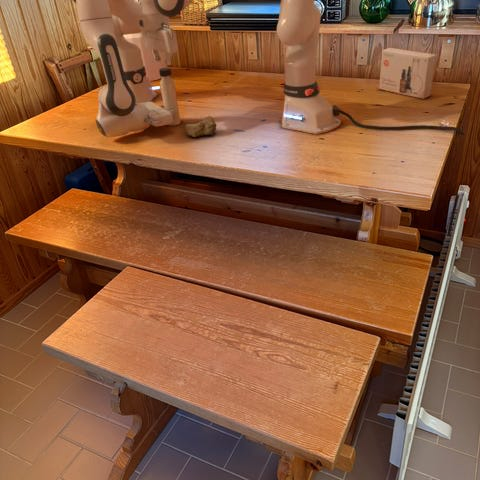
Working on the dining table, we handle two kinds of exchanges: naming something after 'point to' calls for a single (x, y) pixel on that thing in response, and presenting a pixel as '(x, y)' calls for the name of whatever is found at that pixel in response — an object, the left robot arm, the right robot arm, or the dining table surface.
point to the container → (148, 57)
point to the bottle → (170, 98)
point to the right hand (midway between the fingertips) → (163, 63)
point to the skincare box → (407, 72)
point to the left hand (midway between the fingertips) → (173, 108)
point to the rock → (202, 127)
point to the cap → (165, 72)
